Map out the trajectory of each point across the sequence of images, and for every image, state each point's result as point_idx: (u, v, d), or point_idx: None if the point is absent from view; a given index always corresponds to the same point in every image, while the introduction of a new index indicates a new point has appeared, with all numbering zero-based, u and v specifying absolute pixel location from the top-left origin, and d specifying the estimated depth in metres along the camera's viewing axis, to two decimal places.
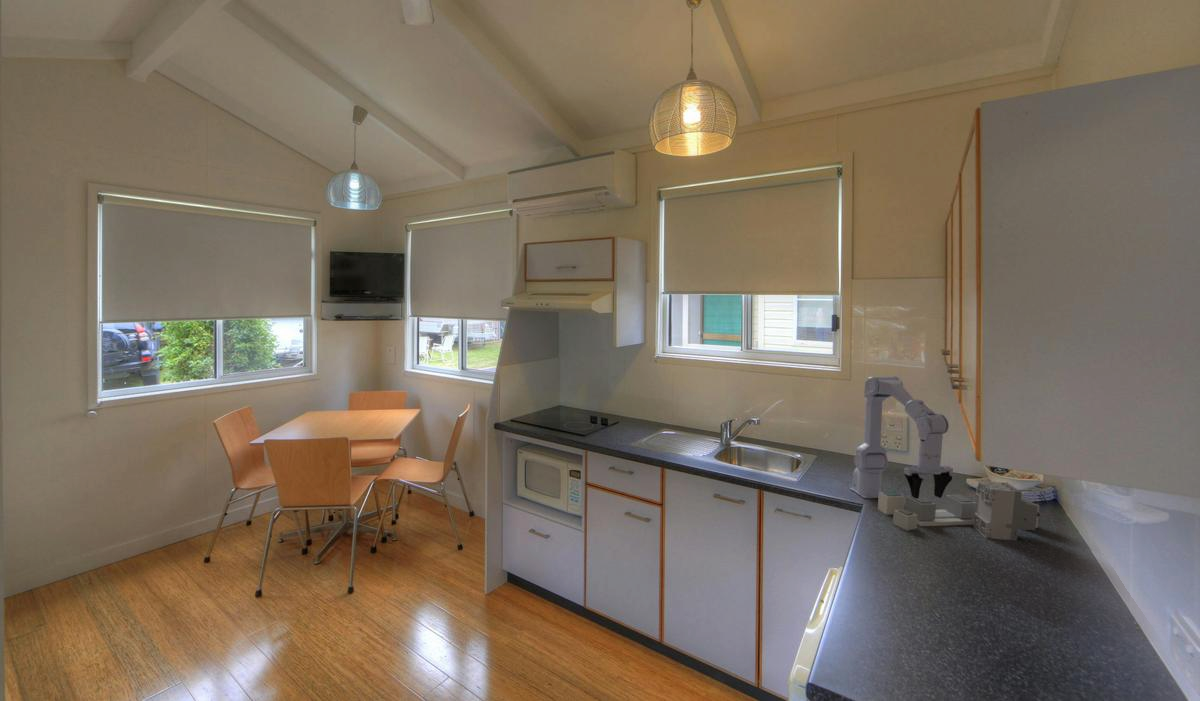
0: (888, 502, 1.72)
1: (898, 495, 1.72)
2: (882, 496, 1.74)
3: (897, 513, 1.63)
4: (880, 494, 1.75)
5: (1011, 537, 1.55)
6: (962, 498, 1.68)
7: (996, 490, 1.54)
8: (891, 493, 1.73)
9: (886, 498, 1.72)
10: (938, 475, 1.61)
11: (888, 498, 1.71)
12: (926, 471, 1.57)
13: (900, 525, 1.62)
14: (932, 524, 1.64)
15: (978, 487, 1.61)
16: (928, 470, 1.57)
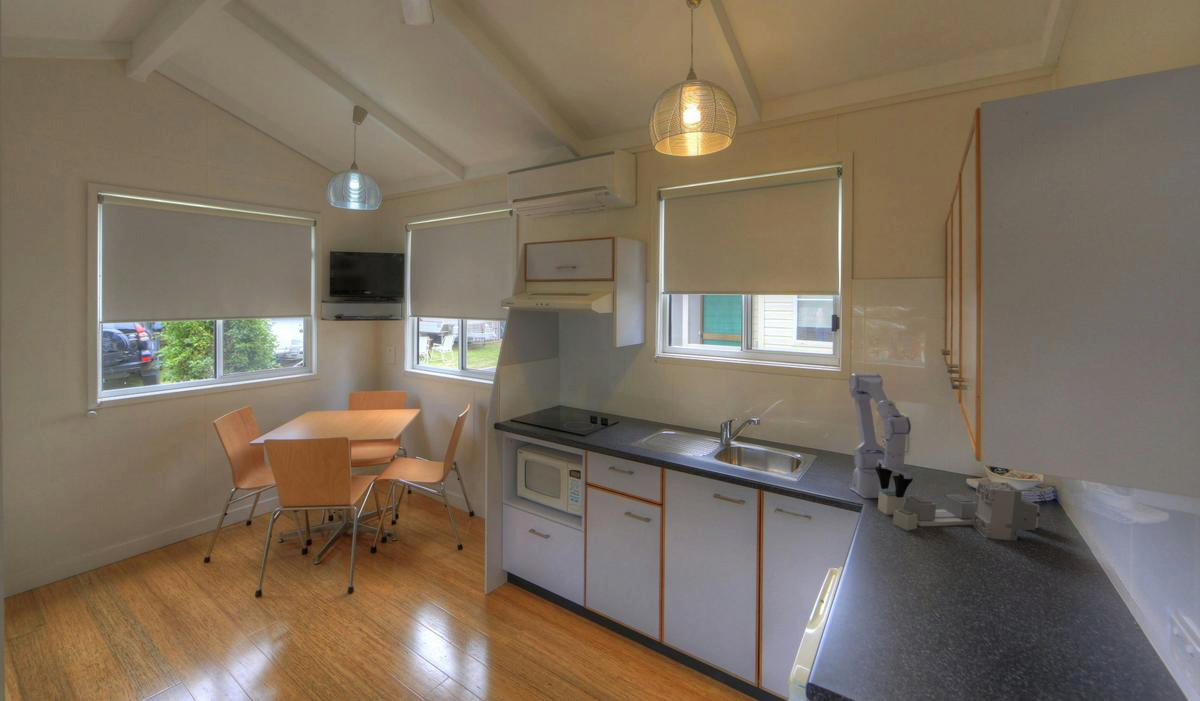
0: (888, 502, 1.71)
1: None
2: (882, 496, 1.74)
3: (897, 513, 1.63)
4: (880, 494, 1.75)
5: (1011, 537, 1.55)
6: (962, 498, 1.68)
7: (996, 490, 1.54)
8: (891, 493, 1.73)
9: (886, 498, 1.72)
10: None
11: (888, 498, 1.71)
12: (882, 464, 1.75)
13: (900, 525, 1.62)
14: (932, 524, 1.64)
15: (978, 487, 1.61)
16: (883, 464, 1.74)
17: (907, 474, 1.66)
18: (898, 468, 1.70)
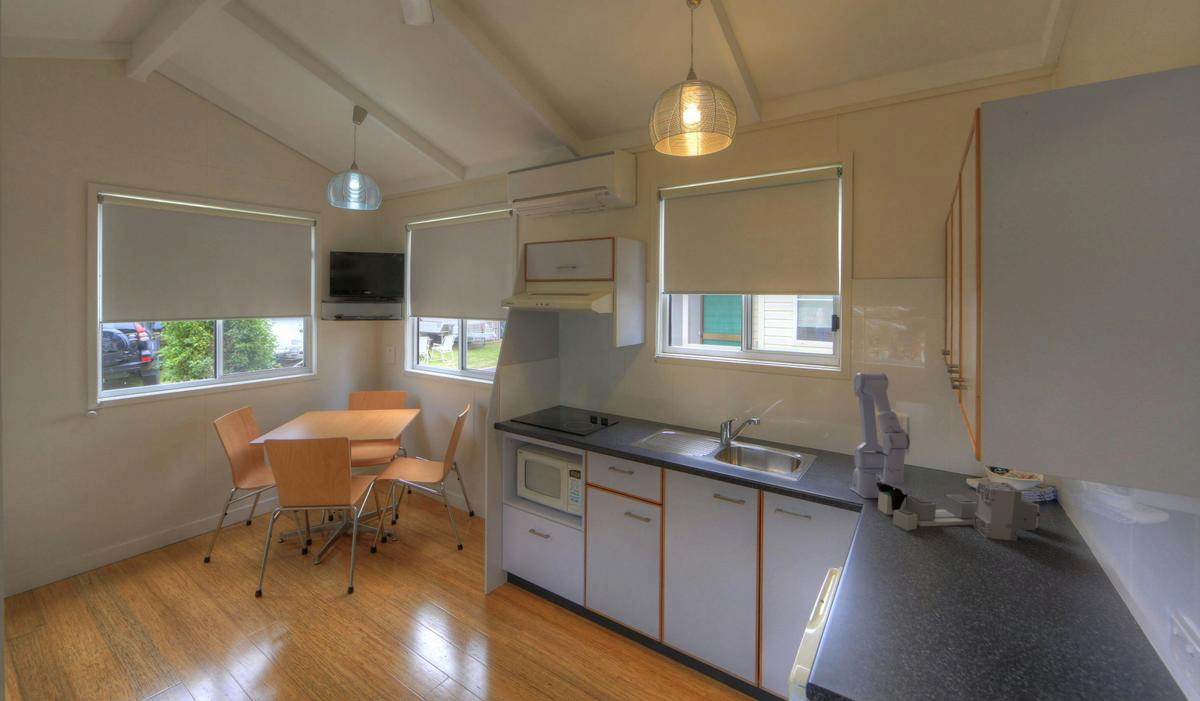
0: (888, 502, 1.71)
1: None
2: (882, 496, 1.74)
3: (897, 513, 1.63)
4: (880, 494, 1.75)
5: (1011, 537, 1.55)
6: (962, 498, 1.68)
7: (996, 490, 1.54)
8: None
9: (886, 498, 1.72)
10: None
11: (888, 498, 1.71)
12: (881, 479, 1.76)
13: (900, 525, 1.62)
14: (932, 524, 1.64)
15: (978, 487, 1.61)
16: (882, 478, 1.75)
17: (906, 490, 1.66)
18: (897, 483, 1.70)
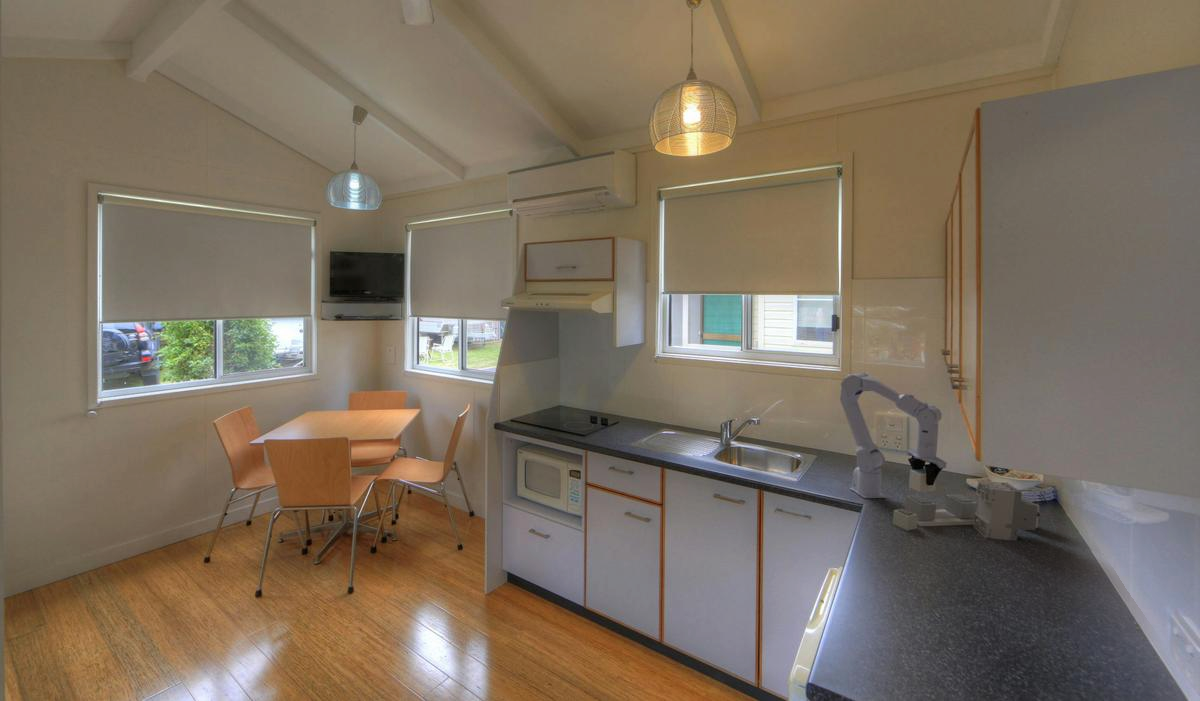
0: (921, 479, 1.73)
1: None
2: (914, 474, 1.75)
3: (897, 513, 1.63)
4: (911, 472, 1.76)
5: (1011, 537, 1.55)
6: (962, 498, 1.68)
7: (996, 490, 1.54)
8: (922, 471, 1.75)
9: (918, 476, 1.73)
10: None
11: (921, 476, 1.73)
12: (914, 454, 1.77)
13: (900, 525, 1.62)
14: (932, 524, 1.64)
15: (978, 487, 1.61)
16: (915, 454, 1.76)
17: (942, 463, 1.68)
18: (931, 458, 1.72)
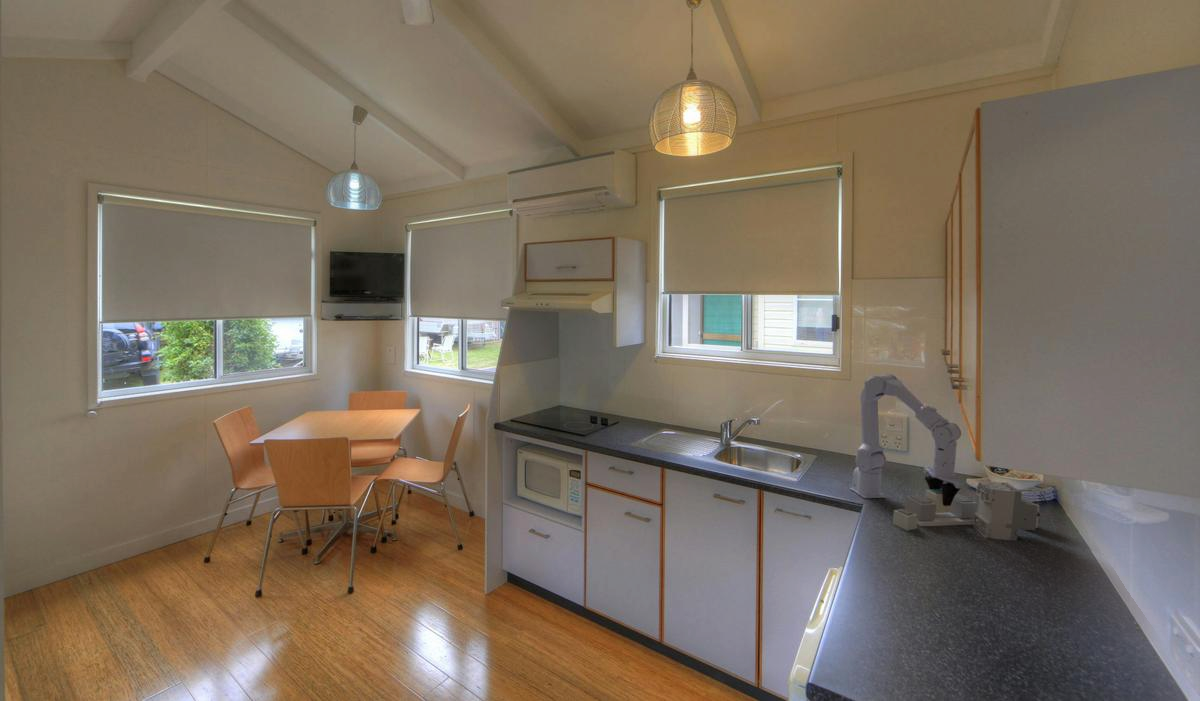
0: (937, 500, 1.65)
1: None
2: (930, 494, 1.68)
3: (897, 513, 1.63)
4: (927, 492, 1.69)
5: (1011, 537, 1.55)
6: (962, 498, 1.68)
7: (996, 490, 1.54)
8: (939, 491, 1.67)
9: (934, 496, 1.66)
10: None
11: (937, 496, 1.65)
12: (930, 472, 1.69)
13: (900, 525, 1.62)
14: (932, 524, 1.64)
15: (978, 487, 1.61)
16: (932, 472, 1.69)
17: (959, 483, 1.60)
18: (948, 477, 1.64)
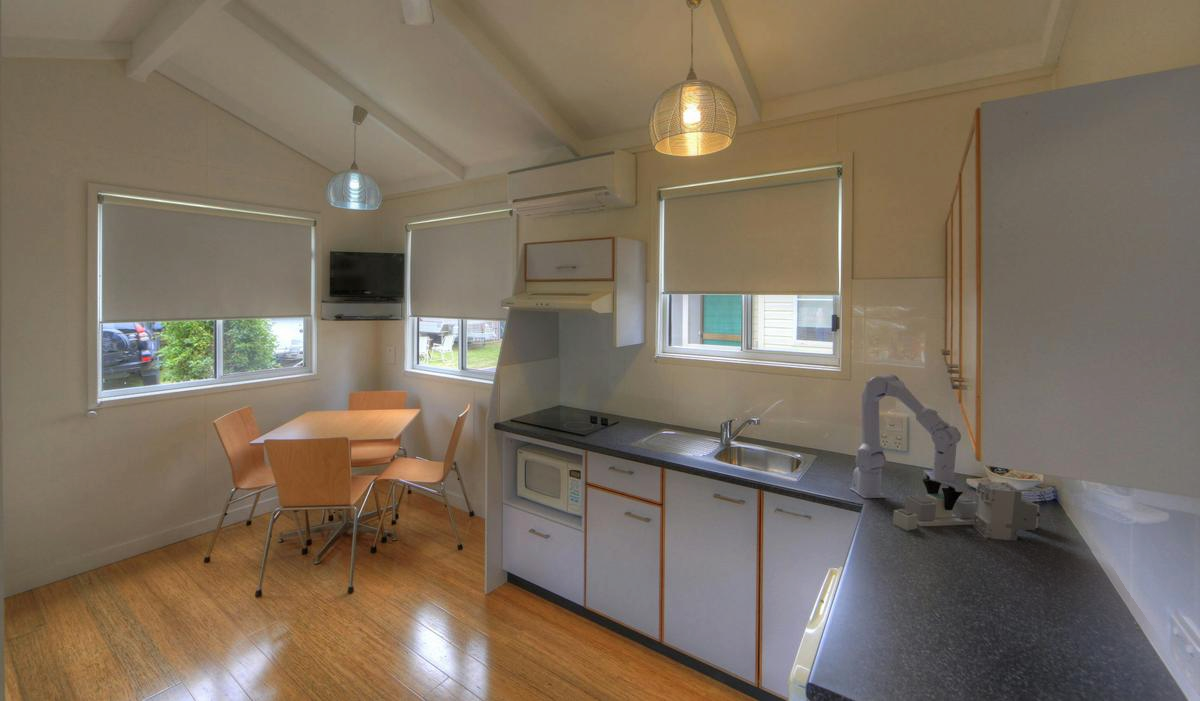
0: (937, 504, 1.66)
1: None
2: (930, 498, 1.68)
3: (897, 513, 1.63)
4: (927, 496, 1.69)
5: (1011, 537, 1.55)
6: (962, 498, 1.68)
7: (996, 490, 1.54)
8: (939, 495, 1.68)
9: (934, 501, 1.66)
10: None
11: (937, 501, 1.65)
12: (930, 476, 1.70)
13: (900, 525, 1.62)
14: (932, 524, 1.64)
15: (978, 487, 1.61)
16: (931, 475, 1.69)
17: (959, 487, 1.60)
18: (948, 480, 1.64)
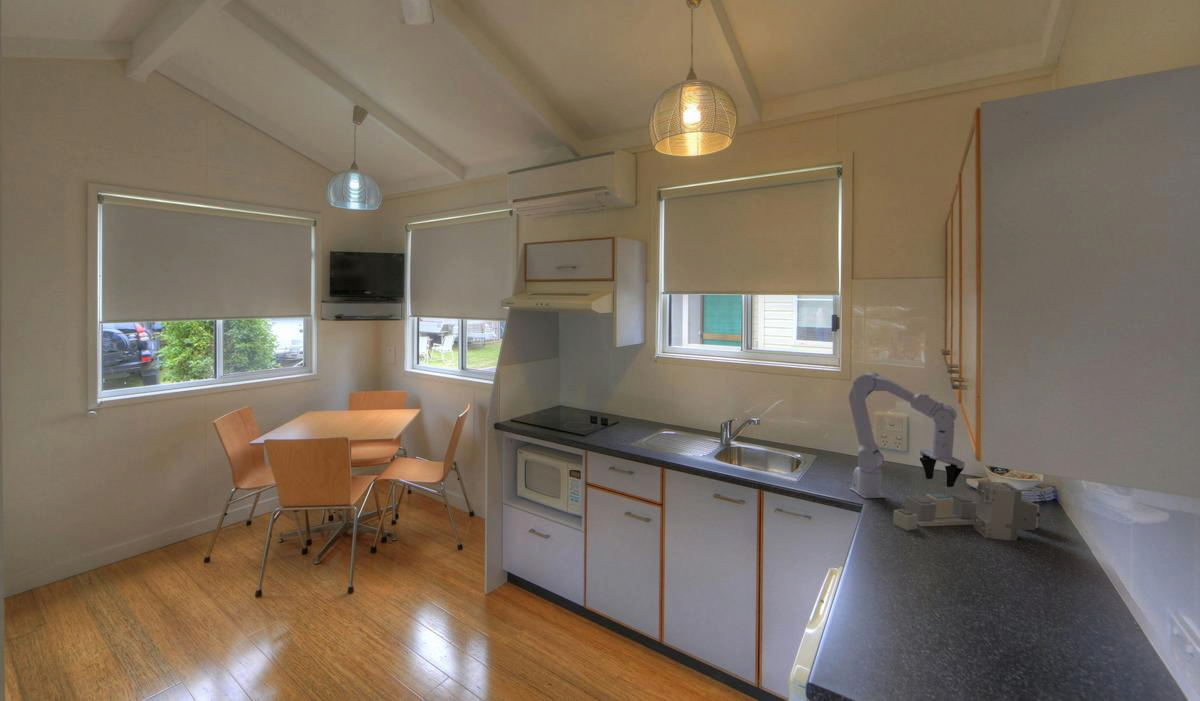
0: (937, 504, 1.66)
1: (947, 497, 1.67)
2: (930, 498, 1.68)
3: (897, 513, 1.63)
4: (927, 496, 1.69)
5: (1011, 537, 1.55)
6: (962, 498, 1.68)
7: (996, 490, 1.54)
8: (939, 495, 1.68)
9: (934, 501, 1.66)
10: None
11: (937, 501, 1.65)
12: (929, 454, 1.75)
13: (900, 525, 1.62)
14: (932, 524, 1.64)
15: (978, 487, 1.61)
16: (931, 454, 1.74)
17: (961, 463, 1.66)
18: (948, 458, 1.70)
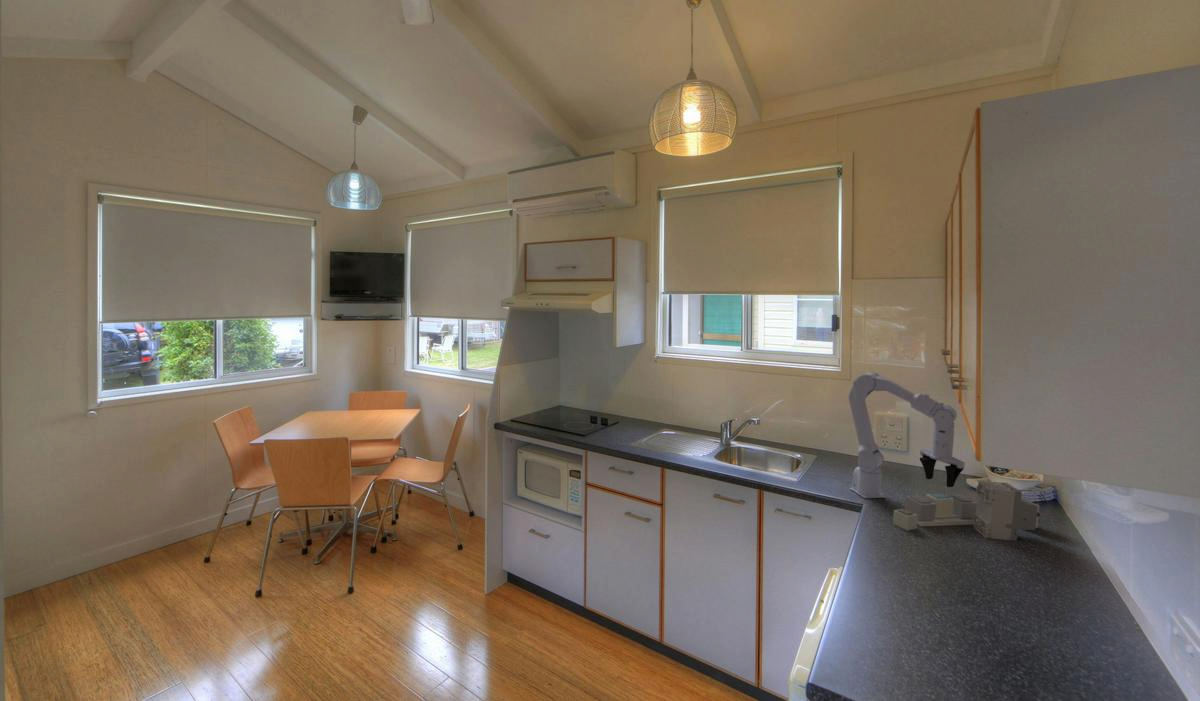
0: (937, 504, 1.66)
1: (947, 497, 1.67)
2: (930, 498, 1.68)
3: (897, 513, 1.63)
4: (927, 496, 1.69)
5: (1011, 537, 1.55)
6: (962, 498, 1.68)
7: (996, 490, 1.54)
8: (939, 495, 1.68)
9: (934, 501, 1.66)
10: None
11: (937, 501, 1.65)
12: (929, 454, 1.75)
13: (900, 525, 1.62)
14: (932, 524, 1.64)
15: (978, 487, 1.61)
16: (931, 454, 1.74)
17: (961, 463, 1.66)
18: (948, 458, 1.70)
